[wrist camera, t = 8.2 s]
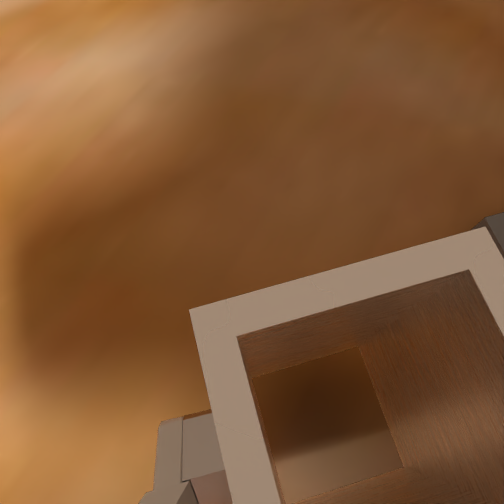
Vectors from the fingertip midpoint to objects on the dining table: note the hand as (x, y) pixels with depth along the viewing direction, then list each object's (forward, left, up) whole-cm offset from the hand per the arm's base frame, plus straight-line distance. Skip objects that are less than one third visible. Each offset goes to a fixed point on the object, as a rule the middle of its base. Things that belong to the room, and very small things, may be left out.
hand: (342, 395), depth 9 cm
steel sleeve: (-1, 0, -4) cm, 4 cm away
